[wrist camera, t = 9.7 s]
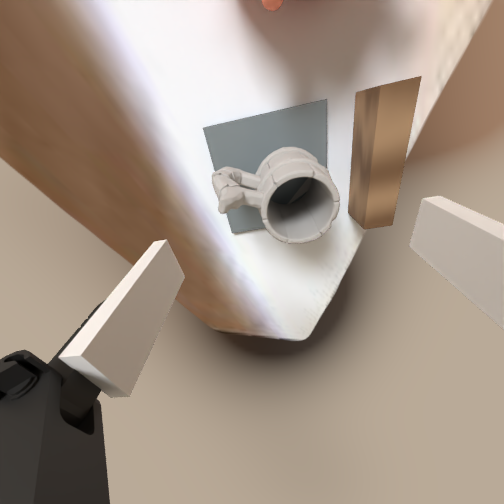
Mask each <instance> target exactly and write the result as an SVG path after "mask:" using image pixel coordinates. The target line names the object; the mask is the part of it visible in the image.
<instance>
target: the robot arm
mask: <svg viewBox="0 0 504 504" xmlns="http://www.w3.org/2000/svg"><path fill="white" fill-rule="evenodd" d="M409 247H410V248H411V249H412V250H413V251H415V252H416V253H417V254H418V255H419V256H420V257H421V258H422V259H424V260H425V261H426V262H427V263H428V264H429V265H430V266H432V267H433V268H434V269H435V270H436V271H437V272H439V273H440V274H441V275H442V276H443V277H444V278H445V279H446V280H447V281H449V282H450V283H451V284H452V285H453V286H454V287H456V288H457V289H458V290H459V291H460V292H461V293H462V294H463V295H465V296H466V297H467V298H468V299H469V300H470V301H471V302H472V303H474V304H475V305H476V306H477V307H478V308H479V309H480V310H482V311H483V312H484V313H485V314H486V315H487V316H488V317H489V318H491V319H492V320H493V321H494V322H495V323H496V324H497V325H499V326H500V327H501V328H502V329H503V330H504V224H502V223H500V222H498V221H496V220H493V219H491V218H489V217H487V216H484V215H482V214H480V213H478V212H475V211H473V210H471V209H469V208H467V207H464V206H462V205H460V204H458V203H455V202H453V201H451V200H449V199H446V198H444V197H442V196H434V197H428V198H423V199H422V201H421V205H420V208H419V212H418V216H417V219H416V223H415V227H414V230H413V234H412V238H411V241H410V245H409ZM184 277H185V276H184V274H183V272H182V270H181V268H180V266H179V264H178V262H177V259H176V257H175V255H174V253H173V251H172V249H171V247H170V245H169V243H168V241H167V240H161V241H155V242H153V244H152V245H151V246H150V247H149V248H148V250H147V251H146V252H145V253H144V254H143V256H142V257H141V258H140V259H139V260H138V262H137V263H136V264H135V265H134V267H133V268H132V269H131V270H130V271H129V273H128V274H127V275H126V277H124V279H123V280H122V281H121V282H120V283H119V285H118V286H117V287H116V288H115V290H114V291H113V292H112V293H111V294H110V296H109V297H108V298H107V299H105V300H104V301H103V302H102V303H100V304H99V305H98V306H97V307H96V308H95V309H94V310H93V312H92V313H91V314H90V315H89V316H88V319H86V320H85V321H84V322H83V323H82V325H81V327H80V328H78V329H77V330H76V332H75V333H74V334H73V335H72V336H71V337H70V339H69V340H68V341H67V342H66V343H65V345H64V346H63V347H62V348H61V349H60V350H59V352H58V353H57V354H56V355H55V356H54V357H53V359H52V360H51V361H50V362H49V363H48V364H46V363H45V362H43V361H42V360H40V359H39V358H38V357H36V356H35V355H33V354H32V353H31V352H29V351H26V350H21V351H16V352H14V353H12V354H9V355H7V356H5V357H4V358H2V359H0V504H110V500H109V488H108V478H107V467H106V456H105V446H104V434H103V423H102V412H101V404H100V402H99V401H98V400H97V397H98V395H99V393H100V392H101V390H102V391H103V392H104V393H106V394H107V395H108V396H109V397H111V398H113V397H129V396H130V395H131V392H132V390H133V388H134V386H135V384H136V381H137V379H138V377H139V375H140V373H141V371H142V369H143V366H144V364H145V362H146V360H147V358H148V356H149V353H150V351H151V349H152V347H153V345H154V342H155V340H156V338H157V336H158V334H159V332H160V329H161V327H162V325H163V323H164V320H165V319H166V316H167V314H168V312H169V310H170V308H171V306H172V303H173V301H174V299H175V297H176V295H177V293H178V290H179V288H180V286H181V284H182V282H183V280H184Z"/></svg>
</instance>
